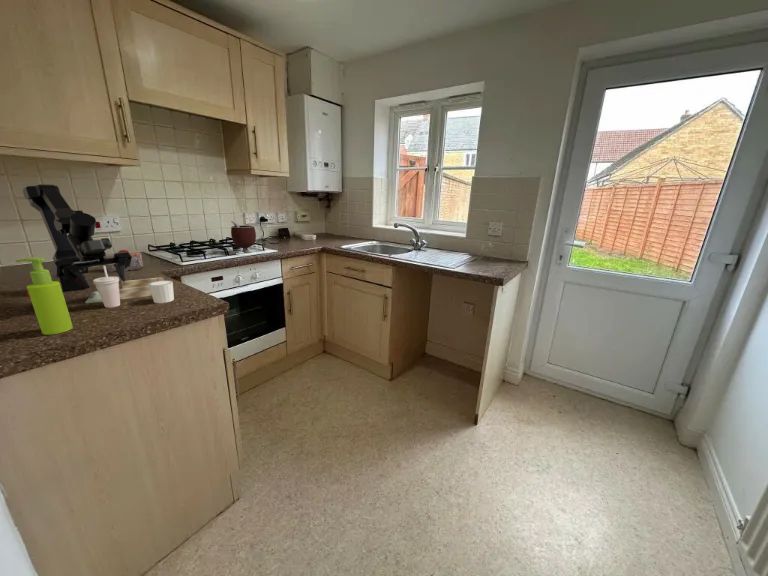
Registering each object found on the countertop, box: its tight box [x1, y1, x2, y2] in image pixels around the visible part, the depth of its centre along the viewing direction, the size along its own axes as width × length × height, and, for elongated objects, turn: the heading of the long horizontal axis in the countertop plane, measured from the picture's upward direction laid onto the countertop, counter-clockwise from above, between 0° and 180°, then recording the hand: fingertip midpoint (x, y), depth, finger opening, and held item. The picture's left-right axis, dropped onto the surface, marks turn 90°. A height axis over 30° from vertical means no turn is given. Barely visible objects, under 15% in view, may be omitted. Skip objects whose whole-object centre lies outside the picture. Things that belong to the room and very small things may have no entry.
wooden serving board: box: [119, 276, 165, 300], centre depth 115 cm, size 13×13×4 cm
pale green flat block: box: [85, 290, 103, 304], centre depth 109 cm, size 8×13×2 cm, turn 32°
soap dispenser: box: [15, 257, 74, 336], centre depth 81 cm, size 6×7×20 cm
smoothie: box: [92, 265, 121, 309], centre depth 99 cm, size 6×6×14 cm
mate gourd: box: [230, 220, 257, 253], centre depth 191 cm, size 16×14×20 cm
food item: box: [104, 249, 144, 273], centre depth 147 cm, size 14×8×10 cm, turn 119°
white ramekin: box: [148, 279, 175, 304], centre depth 106 cm, size 7×7×7 cm
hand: (107, 284), depth 99 cm, fingers open, 9 cm apart
